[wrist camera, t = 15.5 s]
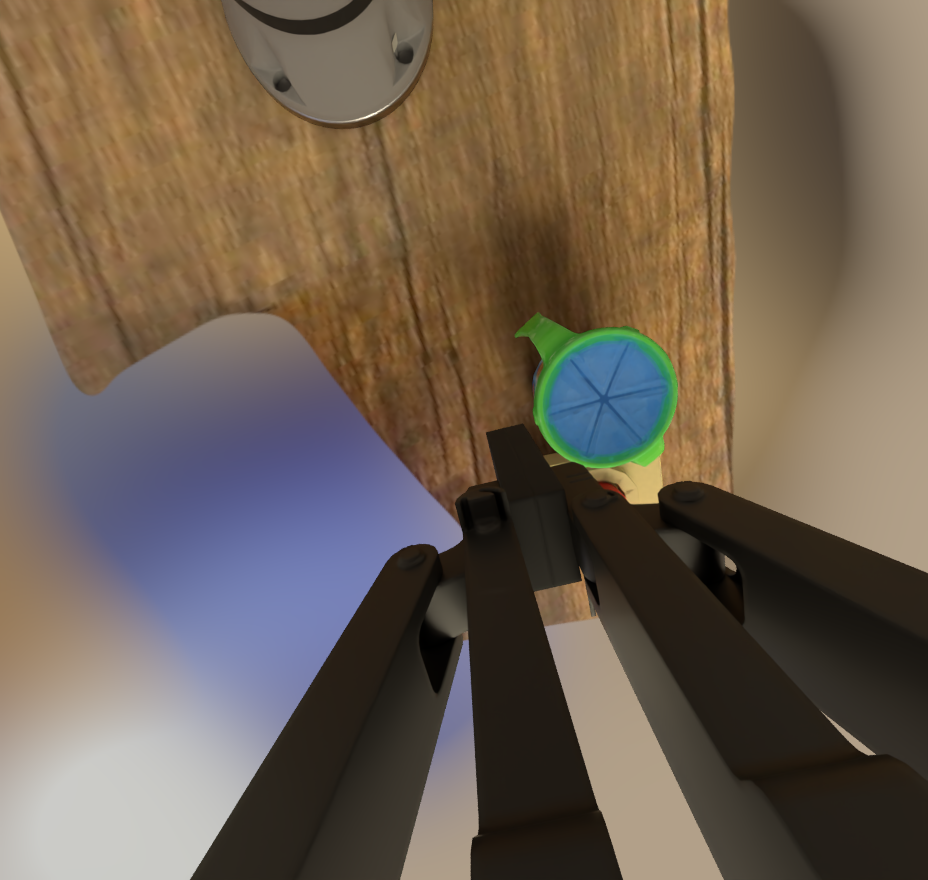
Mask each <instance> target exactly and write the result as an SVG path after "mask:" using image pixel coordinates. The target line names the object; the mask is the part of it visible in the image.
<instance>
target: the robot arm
mask: <svg viewBox="0 0 928 880" xmlns="http://www.w3.org/2000/svg"><path fill="white" fill-rule="evenodd" d="M221 1H222V5H223V9H224V13H225V16H226V20H227V23H228V26H229V29H230V31H231V34H232V36H233V39H234V41H235V43H236V45H237V47H238V49H239V51H240V53H241V55H242V57H243V59H244V60H245V62H246V64H247V65H248V67H249V69H250V70H251V72H252V73H253V74H254V76H255V77H256V78H257V80H258V81H259V82H260V83H261V85H262V86H263V87H264V88H265V90H266V91H267V92H268V93H269V94H270V95H271V96H272V97H273V98H274V99H275V100H276V101H277V102H278V103H279V104H280V105H281V106H283V107H284V108H285V109H287V110H288V111H289V112H291V113H292V114H294V115H295V116H297V117H299V118H301V119H303V120H305V121H307V122H310V123H312V124H315V125H319V126H322V127H327V128H334V129H351V128H357V127H362V126H365V125H369V124H371V123H374V122H376V121H378V120H380V119H382V118H384V117H385V116H387V115H388V114H390V113H391V112H393V111H394V110H395V109H396V108H397V107H398V106H399V105H401V104H402V102H403V101H404V100H405V99H406V98H407V97H408V96H409V94H410V93H411V92H412V90H413V89H414V87H415V85H416V84H417V82H418V80H419V78H420V76H421V74H422V72H423V70H424V67H425V65H426V62H427V59H428V55H429V51H430V47H431V41H432V34H433V1H432V0H221ZM486 435H487V439H488V443H489V448H490V452H491V456H492V460H493V465H494V469H495V473H496V477H497V481H493V482H488V483H484V484H480V485H476V486H471V487H469V488H468V490H467V491H466V493H464V494H462V495H461V496H460V497H459V498H457V500H456V502H455V506H456V509H457V513H458V517H459V520H460V524H461V528H462V532H463V540H462V541H461V542H460V543H459V544H457V545H456V546H454V547H453V548H451V549H449V550H447V551H445V552H442V553H440V554H438V551H437V550H436V548H435V547H434V546H431V545H429V544H417V545H411V546H407V547H406V548H403V549H401V550H400V551H398V552H397V553H395V554H394V555H392V556H391V557H390V559H389V560H388V561H387V562H386V564H385V565H384V567H383V569H382V570H381V572H380V574H379V575H378V577H377V578H376V580H375V582H374V583H373V585H372V587H371V588H370V590H369V592H368V593H367V595H366V596H365V598H364V599H363V601H362V603H361V604H360V606H359V608H358V609H357V611H356V613H355V614H354V616H353V617H352V619H351V620H350V622H349V624H348V625H347V627H346V628H345V630H344V632H343V633H342V635H341V637H340V638H339V640H338V641H337V643H336V645H335V646H334V648H333V649H332V651H331V653H330V655H329V656H328V658H327V659H326V661H325V662H324V664H323V666H322V667H321V669H320V670H319V672H318V674H317V675H316V677H315V679H314V680H313V682H312V683H311V685H310V687H309V688H308V690H307V692H306V693H305V695H304V696H303V698H302V700H301V701H300V703H299V704H298V706H297V708H296V709H295V711H294V713H293V714H292V716H291V717H290V719H289V721H288V722H287V724H286V726H285V727H284V729H283V730H282V732H281V734H280V735H279V737H278V738H277V740H276V742H275V743H274V745H273V746H272V748H271V750H270V751H269V753H268V755H267V756H266V758H265V759H264V761H263V763H262V764H261V766H260V767H259V769H258V771H257V772H256V774H255V776H254V777H253V779H252V780H251V782H250V784H249V786H248V787H247V788H246V790H245V792H244V793H243V795H242V797H241V798H240V800H239V801H238V803H237V805H236V806H235V808H234V810H233V811H232V813H231V814H230V816H229V818H228V819H227V821H226V822H225V824H224V826H223V827H222V829H221V831H220V832H219V834H218V835H217V837H216V839H215V840H214V842H213V843H212V845H211V847H210V848H209V850H208V852H207V853H206V855H205V856H204V858H203V860H202V861H201V863H200V864H199V866H198V868H197V869H196V871H195V873H194V874H193V876H192V877H191V879H190V880H400V877H401V874H402V870H403V866H404V862H405V859H406V855H407V851H408V847H409V844H410V840H411V836H412V832H413V828H414V825H415V821H416V817H417V814H418V810H419V806H420V802H421V799H422V795H423V791H424V787H425V784H426V780H427V776H428V772H429V768H430V765H431V761H432V757H433V754H434V750H435V746H436V742H437V739H438V735H439V731H440V727H441V723H442V720H443V716H444V712H445V709H446V705H447V701H448V697H449V694H450V690H451V686H452V682H453V678H454V674H455V671H456V667H457V664H458V660H459V656H460V652H461V649H462V645H463V636H462V633H464V632H466V631H468V636H469V654H470V672H471V689H472V705H473V706H472V707H473V723H474V724H473V725H474V741H475V742H474V743H475V760H476V778H477V795H478V813H479V830H478V835H477V836H475V837H474V838H473V840H472V846H471V880H623V878H622V875H621V872H620V868H619V865H618V862H617V859H616V855H615V852H614V849H613V845H612V842H611V839H610V836H609V833H608V829H607V826H606V823H605V821H604V818H603V815H602V812H601V811H600V810H599V809H598V806H597V803H596V799H595V796H594V793H593V790H592V786H591V783H590V780H589V776H588V773H587V769H586V766H585V763H584V759H583V756H582V753H581V750H580V746H579V743H578V739H577V736H576V733H575V729H574V726H573V722H572V719H571V716H570V712H569V709H568V706H567V702H566V699H565V696H564V692H563V689H562V685H561V682H560V679H559V675H558V672H557V669H556V665H555V662H554V659H553V655H552V652H551V648H550V645H549V642H548V638H547V635H546V632H545V628H544V625H543V621H542V618H541V615H540V611H539V608H538V605H537V601H536V598H535V595H534V592H535V591H539V590H544V589H548V588H552V587H557V586H561V585H566V584H570V583H575V582H579V581H582V579H581V574H580V568H581V570H582V572H583V574H584V579H585V584H586V590H587V595H588V600H589V606H590V611H591V616H592V617H593V616H596V613H595V610H596V612H597V614H598V616H599V618H600V621H601V623H602V625H603V627H604V629H605V631H606V633H607V635H608V637H609V639H610V641H611V643H612V646H613V648H614V650H615V652H616V654H617V656H618V658H619V660H620V663H621V664H622V667H623V669H624V671H625V673H626V675H627V677H628V679H629V681H630V684H631V686H632V688H633V690H634V692H635V694H636V696H637V698H638V700H639V702H640V704H641V706H642V709H643V711H644V713H645V715H646V717H647V719H648V721H649V723H650V725H651V727H652V729H653V732H654V734H655V736H656V738H657V740H658V742H659V744H660V746H661V748H662V751H663V753H664V755H665V757H666V759H667V761H668V763H669V765H670V767H671V770H672V772H673V774H674V776H675V778H676V780H677V782H678V784H679V786H680V788H681V790H682V793H683V795H684V796H685V799H686V801H687V803H688V805H689V807H690V809H691V811H692V814H693V816H694V818H695V820H696V822H697V824H698V826H699V828H700V830H701V832H702V834H703V837H704V839H705V841H706V843H707V845H708V847H709V849H710V851H711V853H712V855H713V858H714V860H715V862H716V864H717V866H718V868H719V870H720V872H721V874H722V877H723V878H724V880H928V573H926V572H924V571H921V570H919V569H916V568H914V567H911V566H909V565H906V564H904V563H901V562H899V561H896V560H894V559H891V558H889V557H886V556H884V555H882V554H879V553H877V552H874V551H872V550H869V549H867V548H864V547H862V546H860V545H857V544H855V543H852V542H850V541H847V540H845V539H842V538H840V537H837V536H835V535H832V534H830V533H827V532H825V531H823V530H820V529H817V528H815V527H812V526H810V525H808V524H805V523H803V522H800V521H798V520H795V519H793V518H790V517H788V516H786V515H783V514H780V513H778V512H776V511H773V510H771V509H768V508H766V507H763V506H761V505H758V504H756V503H753V502H751V501H748V500H746V499H744V498H741V497H739V496H736V495H734V494H731V493H729V492H726V491H724V490H721V489H719V488H716V487H714V486H712V485H708V484H704V483H700V482H692V481H684V482H683V481H681V482H676V483H674V484H670V485H667V486H665V487H663V488H662V489H660V491H659V492H658V502H659V503H652V504H630V503H629V502H628V501H627V500H626V499H625V498H624V497H623V495H621V494H620V493H618V492H617V491H613V490H609V489H603V487H602V486H601V485H600V484H599V483H598V482H597V480H596V479H595V478H593V476H592V475H591V473H589V471H588V470H587V469H586V468H585V466H584V465H581V464H579V463H576V462H568V463H564V464H560V465H556V466H551V467H550V465H549V464H548V462H547V461H546V459H545V458H544V456H543V454H542V453H541V451H540V450H539V448H538V447H537V445H536V443H535V442H534V440H533V439H532V437H531V436H530V434H529V432H528V431H527V429H526V428H525V426H524V424H519V425H515V426H511V427H506V428H502V429H498V430H494V431H490V432H486ZM725 555H726V556H727V557H728V558H730V559H731V560H732V561H733V562H734V563H735V565H736V568H737V570H736V572H735V571H732V570H730V569H729V568H728V567H726V566H725ZM579 566H580V568H579ZM821 711H822V712H823V713H824V714H825V715H827V716H828V717H829V718H831V719H832V720H833V721H835V722H836V723H837V724H838V725H839V726H841V727H842V728H843V729H845V730H846V731H847V732H849V733H850V734H851V735H852V736H853V737H855V738H856V739H857V740H859V741H860V742H861V743H862V744H864V745H865V746H866V747H867V748H869V749H870V750H871V751H873V752H874V753H875V754H876V755H869V756H868V755H866V754H864V753H862V752H860V751H859V750H857V749H856V748H855V747H854V746H853V745H852V744H851V743H850V742H849V741H847V739H846V738H845V737H844V736H843V735H842V734H841V733H840V732H839V731H838V730H837V729H836V728H835V727H834V725H833V724H832V723H831V722H830V721H829V720H828V719H827V718H826V717H825V715H824V714H823V713H822V712H821Z"/></svg>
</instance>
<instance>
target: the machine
mask: <svg viewBox="0 0 928 880" xmlns="http://www.w3.org/2000/svg"><path fill="white" fill-rule="evenodd" d="M544 458H545V459H546V461H547V462H548V464H549V465H550V467H551V466H556V465H560V464H564V463H568V462H571V461H569V460H567V459H566V458H564V457H563V456H561V455H560V454H559V453H553V454H548V455H544ZM586 469H587V470H588V471H589V473H591V475H592V476H593V478H595V479H596V480H597V482H598V483H609V484H611V485H613V486H615V487H616V488H617V489H618V490H619V491H620V492H621V493H622V494H623V495H624V496H625V497H626V499H627V501H628V502H629V503H630V504H652V503H659V502H658V492H659V491H660V489H662V488H663V483H662V472H661V461H660V456H659V457H658V458H656V459H655V460H654V461H653V462H652V463H650V464H649V465H647V466H646V467H643V466H641V465H638V464H635V463H632V462H629V463H626V464H624V465H620V466H616V467H611V468H590V467H586Z"/></svg>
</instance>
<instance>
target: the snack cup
mask: <svg viewBox="0 0 928 880" xmlns="http://www.w3.org/2000/svg"><path fill="white" fill-rule="evenodd" d="M519 336H525V337H529V338H530V340H531V341H532V342H533V344H534V345H535V347H536V348H537V350H538V352H539V354H540V356H541V358H542V360H541V362H540V363H539V365H538V367H537V369H536V371H535V373H534V377H533V396H534V408H533V416H534V420H535V423H536V425H538V426H539V429H540V431H541V433H542V435H543V436H544V438H545V439H546V441H547V442H548V443H549V445H550V446H551V447H552V448H553V449H554V450H555V451H556V452H557V453H559V454H560V455H561V456H563V457H564V458H566V459H567V460H569V461H571V462H576V463H579V464H581V465H584V466H585V468H586V467H590V468H611V467H616V466H620V465H624V464H626V463H629V462H632V463H635V464H638V465H641V466H643V467H646V466H647V465H649V464H650V463H652V462H653V461H654V460H655V459H656V458H658V457H659V456H660V455H661V453H662V452H663V451H664V441H663V435H664V433H665V432H666V430H667V429H668V427H669V425H670V423H671V420H672V418H673V415H674V413H675V408H676V405H677V398H678V393H677V392H678V391H677V388H678V382H677V378H676V374H675V371H674V368H673V366H672V363H671V361H670V359H669V357H668V355H667V354H666V353H665V351H664V350H663V349H662V348H661V347H660V346H659V345H658V344H657V343H656V342H654V341H653V340H652V339H650V338H649V337H647V336H645V335H643V334H641V333H639V330H637V329H634V328H631V327H628V326H623V327H620V328H618V327H606V328H598V329H593V330H588V331H586V332H583V333H580V334H578V333H574V332H572V331H570V330H568V329H566V328H565V327H563V326H561V325H559V324H557V323H555V322H553V321H552V320H550V319H548V318H546V317H544V316H541V314H540V313H539V312H538V313H536V314H535V315H534V316H533V317H532V318H531V319H530V320H529V321H528V322H526V324H525V325H524V326H523V327H521V328H520V329H519V330H518V331H517V332H516V334H515V338H518V337H519Z"/></svg>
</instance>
